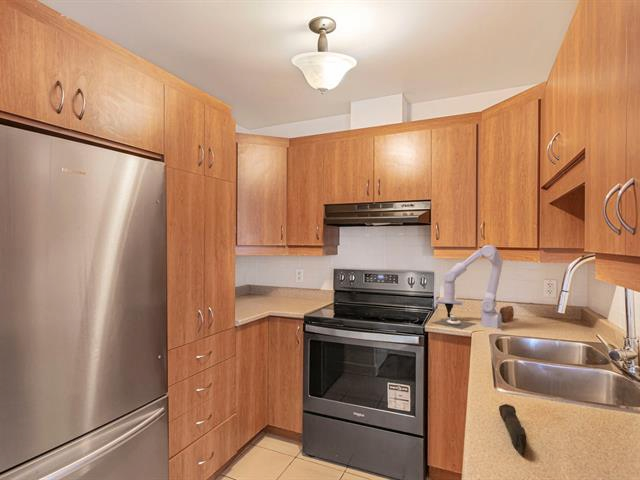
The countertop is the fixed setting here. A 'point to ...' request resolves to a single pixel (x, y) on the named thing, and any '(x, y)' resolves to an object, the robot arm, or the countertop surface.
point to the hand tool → (514, 427)
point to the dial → (453, 320)
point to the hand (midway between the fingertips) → (448, 317)
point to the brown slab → (507, 313)
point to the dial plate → (459, 326)
